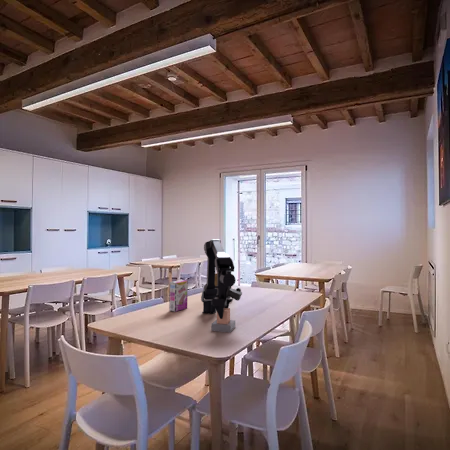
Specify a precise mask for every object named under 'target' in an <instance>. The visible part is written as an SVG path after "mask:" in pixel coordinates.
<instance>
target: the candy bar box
mask: <svg viewBox="0 0 450 450" xmlns="http://www.w3.org/2000/svg"><path fill="white" fill-rule="evenodd" d="M188 284H189V281H188V280H186V279H179V280H176V281H175V280H174V281H170V282H169V297H168V298H169V305H168V311H169V312H173V313H177V312H179V311H180V312H181V311H183V310H186V309H188V291H189V290H188V288H189V285H188Z"/></svg>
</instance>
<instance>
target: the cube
mask: <svg viewBox="0 0 450 450" xmlns="http://www.w3.org/2000/svg"><path fill="white" fill-rule="evenodd" d="M216 320H217V323H220V324H228V323H229V322H230V320H231V307H229V308H224V313H223V319H220V317H219V315H218V313H217V312H216Z"/></svg>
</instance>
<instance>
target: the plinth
mask: <svg viewBox="0 0 450 450" xmlns="http://www.w3.org/2000/svg"><path fill="white" fill-rule="evenodd" d="M210 327H211V329H210V330H211V332H222V333H231V332H232V331H233V330H234V329H235V328H236V320H235V319H230V322H229V323H228V324H220V323H217V319H216V320H214V321H213V322H212V323H211V325H210Z"/></svg>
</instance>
